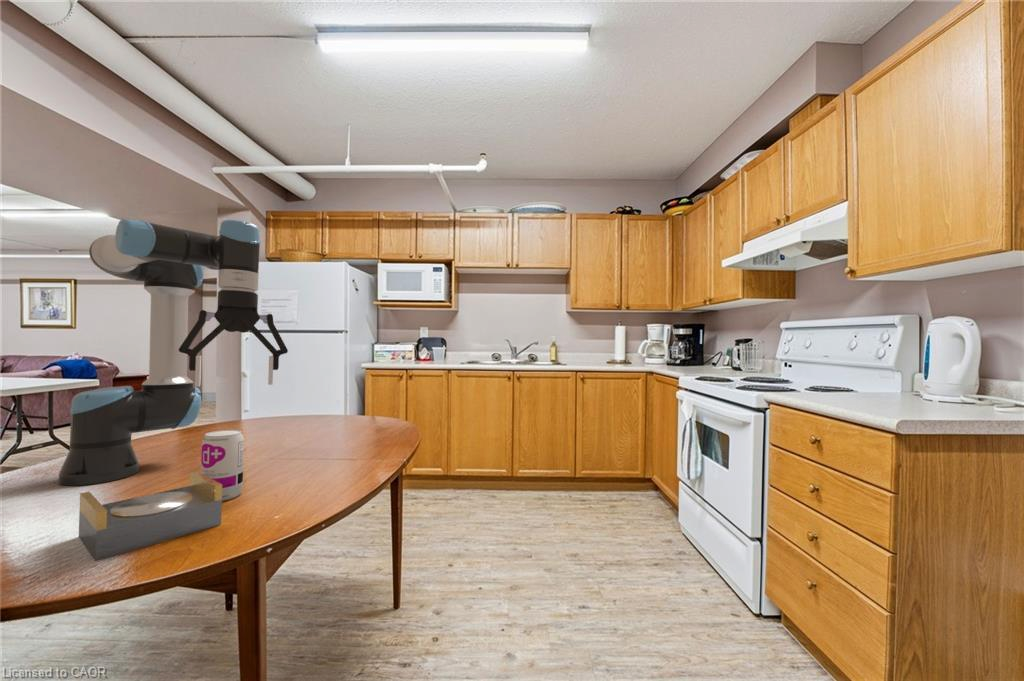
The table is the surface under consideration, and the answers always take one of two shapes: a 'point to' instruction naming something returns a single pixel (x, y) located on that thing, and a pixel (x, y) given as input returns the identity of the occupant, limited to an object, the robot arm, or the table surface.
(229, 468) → the supplement can
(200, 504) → the grey boxy piece
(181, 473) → the table surface
